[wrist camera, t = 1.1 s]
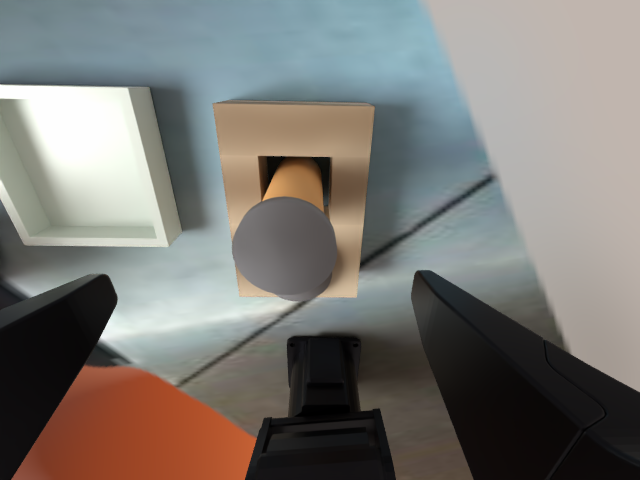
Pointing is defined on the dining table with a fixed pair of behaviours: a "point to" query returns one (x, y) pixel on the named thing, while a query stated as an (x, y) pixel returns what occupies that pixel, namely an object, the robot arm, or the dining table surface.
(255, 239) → the pin
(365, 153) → the block
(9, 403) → the robot arm
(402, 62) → the dining table surface
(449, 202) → the dining table surface
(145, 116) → the tray
